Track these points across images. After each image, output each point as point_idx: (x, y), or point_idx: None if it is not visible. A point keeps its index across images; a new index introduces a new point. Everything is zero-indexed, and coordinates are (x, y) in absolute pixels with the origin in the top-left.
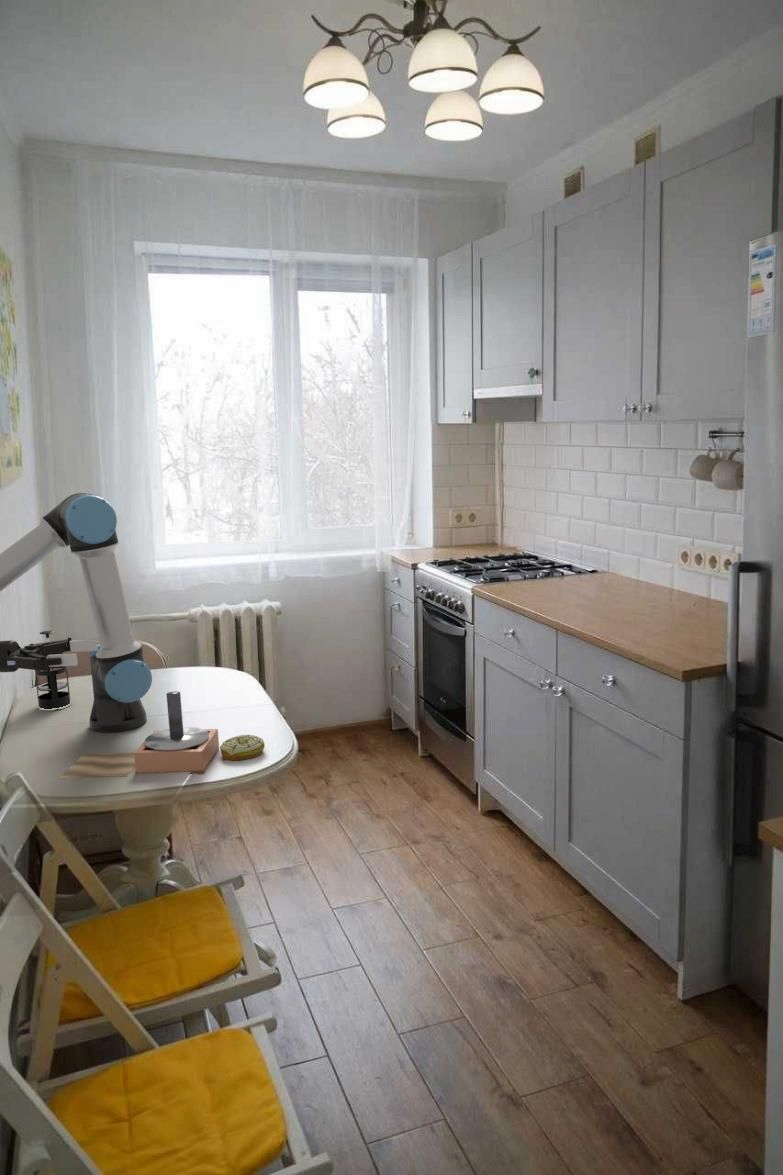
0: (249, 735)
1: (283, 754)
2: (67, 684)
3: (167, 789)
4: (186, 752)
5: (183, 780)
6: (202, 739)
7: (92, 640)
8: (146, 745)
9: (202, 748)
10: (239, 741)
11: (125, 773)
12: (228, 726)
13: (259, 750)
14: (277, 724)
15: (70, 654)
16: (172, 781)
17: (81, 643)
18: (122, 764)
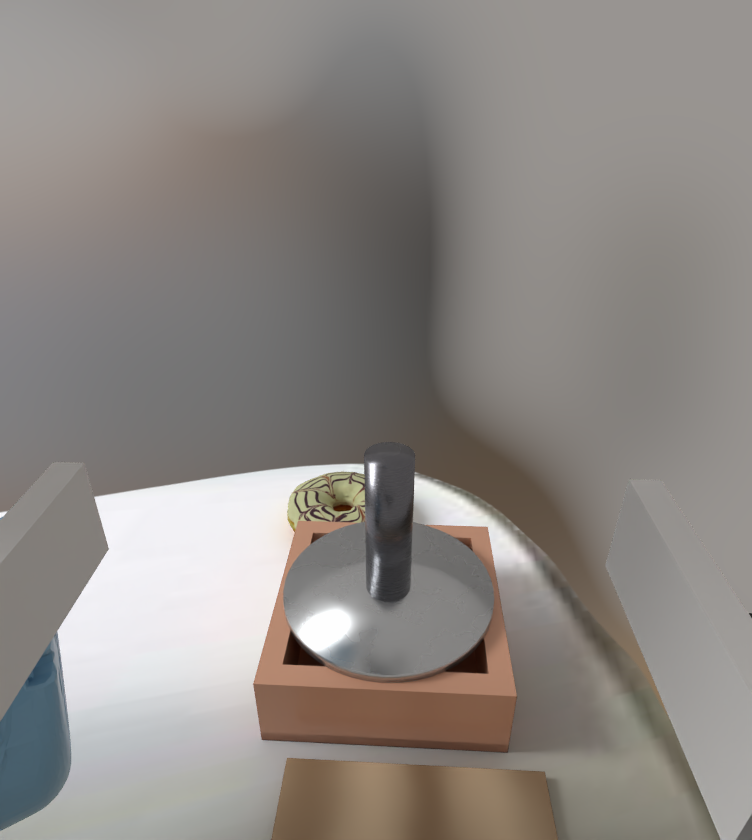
0: (310, 487)
1: (363, 468)
2: None
3: (602, 634)
4: (492, 558)
5: (531, 610)
6: (416, 526)
7: (66, 486)
8: (453, 662)
9: (465, 528)
10: (330, 507)
11: (516, 784)
12: (92, 576)
13: None
14: (144, 489)
15: (680, 511)
16: (543, 634)
17: (7, 596)
18: (419, 826)
